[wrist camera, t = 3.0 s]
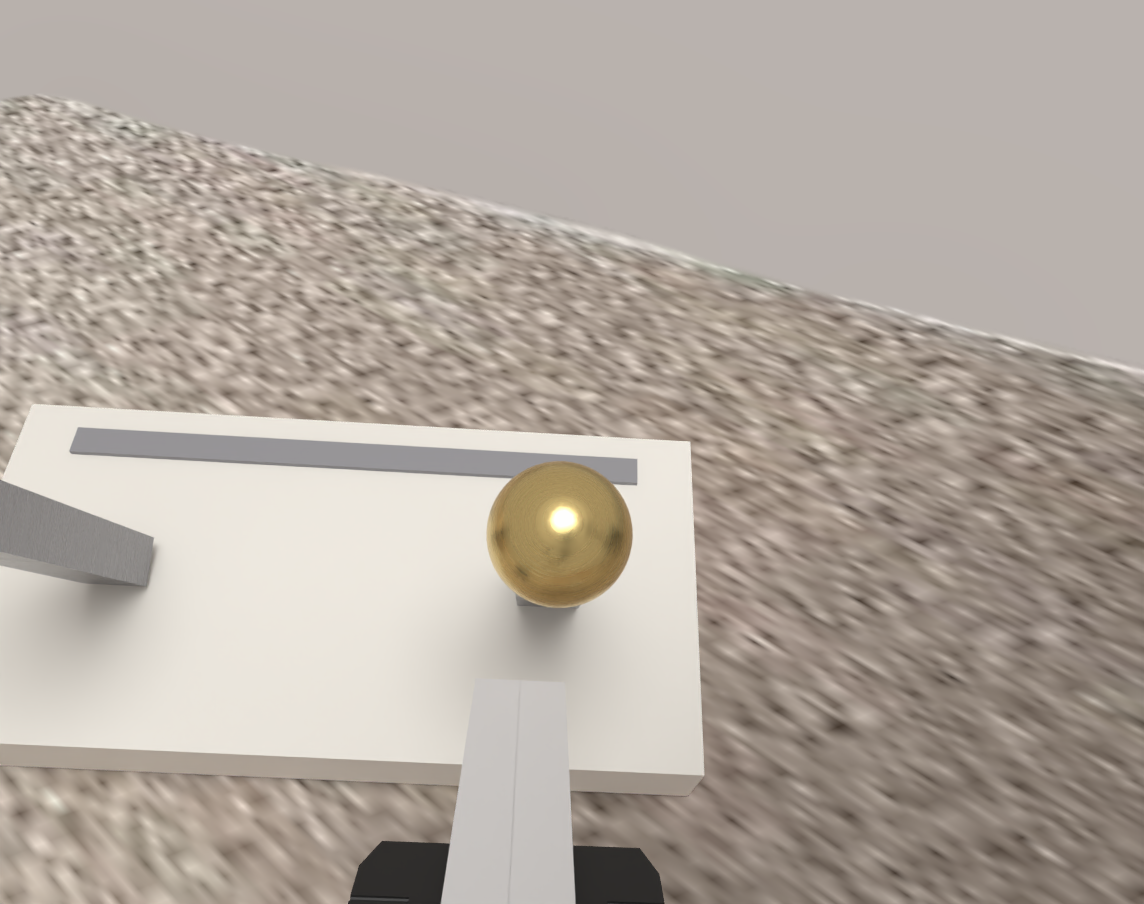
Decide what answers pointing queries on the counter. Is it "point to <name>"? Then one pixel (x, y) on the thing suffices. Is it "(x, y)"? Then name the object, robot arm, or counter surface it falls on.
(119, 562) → the black lever
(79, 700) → the control panel
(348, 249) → the counter surface
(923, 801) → the counter surface
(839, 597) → the counter surface
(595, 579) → the brass lever
